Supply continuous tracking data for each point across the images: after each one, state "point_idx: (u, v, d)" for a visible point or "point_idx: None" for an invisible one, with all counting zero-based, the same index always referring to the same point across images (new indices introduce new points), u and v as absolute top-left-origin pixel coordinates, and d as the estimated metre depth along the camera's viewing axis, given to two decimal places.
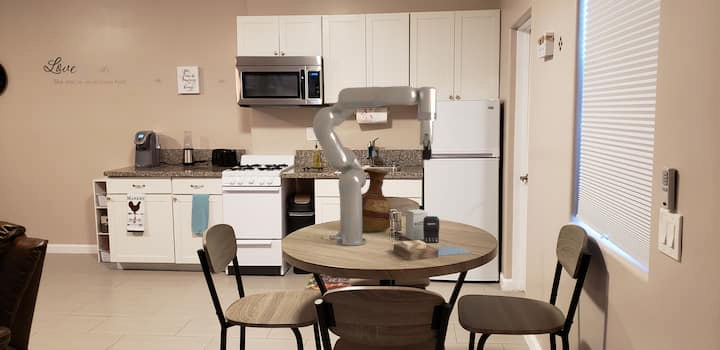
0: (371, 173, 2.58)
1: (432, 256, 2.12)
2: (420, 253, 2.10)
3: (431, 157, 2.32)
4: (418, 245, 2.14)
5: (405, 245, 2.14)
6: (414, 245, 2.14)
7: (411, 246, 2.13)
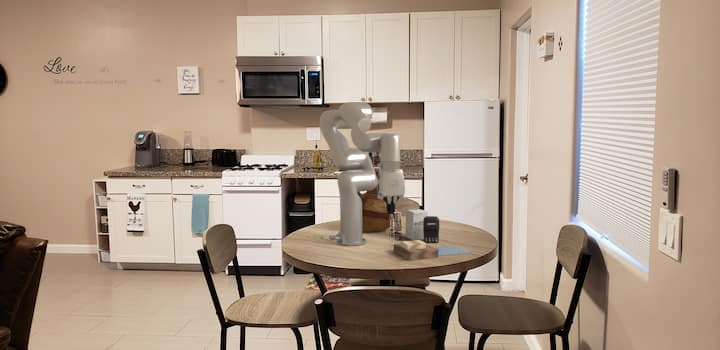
0: None
1: (432, 256, 2.12)
2: (420, 253, 2.10)
3: (387, 212, 2.13)
4: (418, 245, 2.14)
5: (405, 245, 2.14)
6: (414, 245, 2.14)
7: (411, 246, 2.13)
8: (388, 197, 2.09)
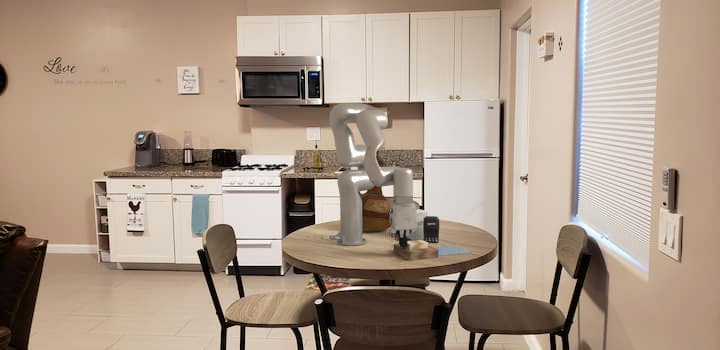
0: None
1: (432, 256, 2.12)
2: (420, 253, 2.10)
3: None
4: (421, 245, 2.15)
5: (408, 245, 2.15)
6: (417, 245, 2.14)
7: (414, 246, 2.14)
8: (401, 231, 2.13)
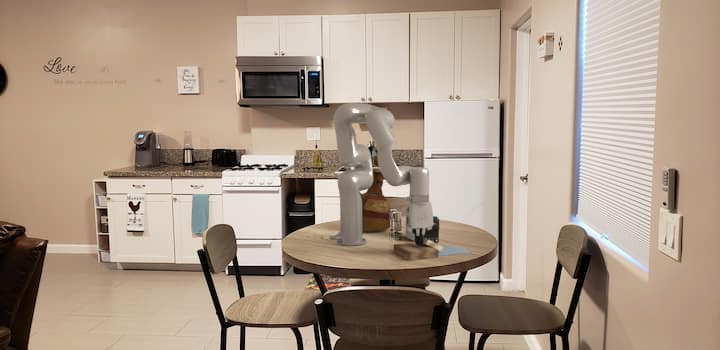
0: None
1: (432, 256, 2.12)
2: (420, 253, 2.10)
3: None
4: (436, 245, 2.18)
5: (425, 240, 2.18)
6: (433, 243, 2.17)
7: (430, 243, 2.17)
8: (417, 229, 2.15)
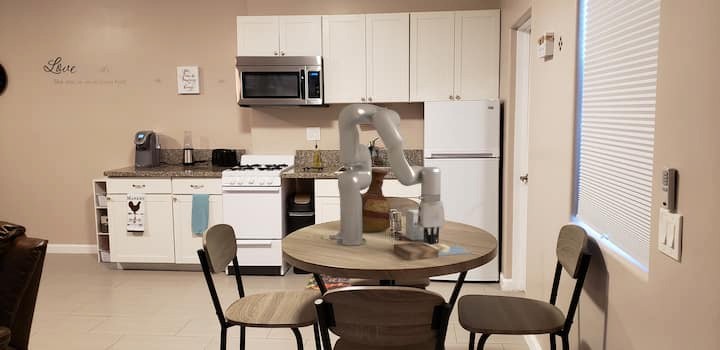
0: None
1: (432, 256, 2.12)
2: (420, 253, 2.10)
3: (427, 242, 2.21)
4: (442, 249, 2.19)
5: None
6: (438, 249, 2.18)
7: None
8: (428, 228, 2.17)
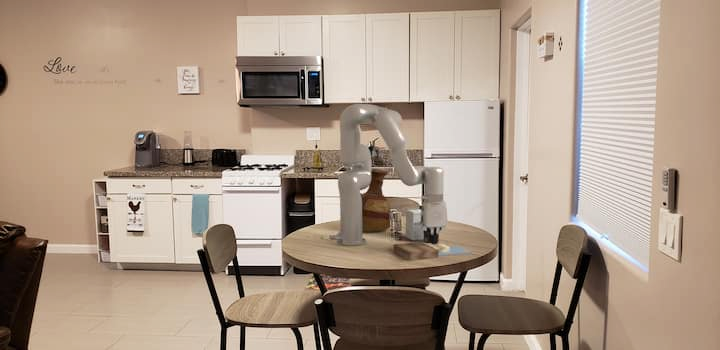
0: (371, 173, 2.58)
1: (432, 256, 2.12)
2: (420, 253, 2.10)
3: None
4: (442, 249, 2.19)
5: None
6: (438, 249, 2.18)
7: None
8: (431, 228, 2.18)
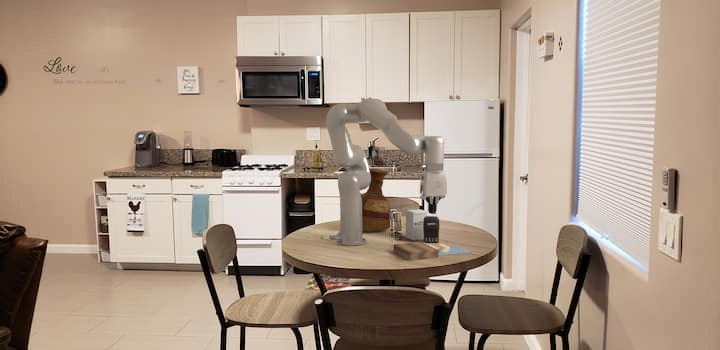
0: (371, 173, 2.58)
1: (432, 256, 2.12)
2: (420, 253, 2.10)
3: None
4: (442, 249, 2.19)
5: None
6: (438, 249, 2.18)
7: None
8: (431, 197, 2.17)
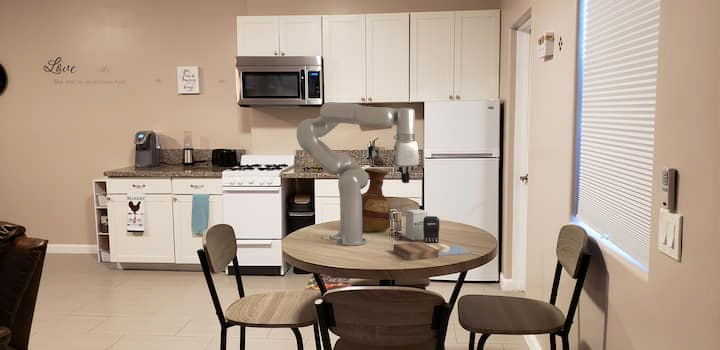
0: (371, 173, 2.58)
1: (432, 256, 2.12)
2: (420, 253, 2.10)
3: (402, 181, 2.29)
4: (442, 249, 2.19)
5: None
6: (438, 249, 2.18)
7: None
8: (403, 167, 2.25)
